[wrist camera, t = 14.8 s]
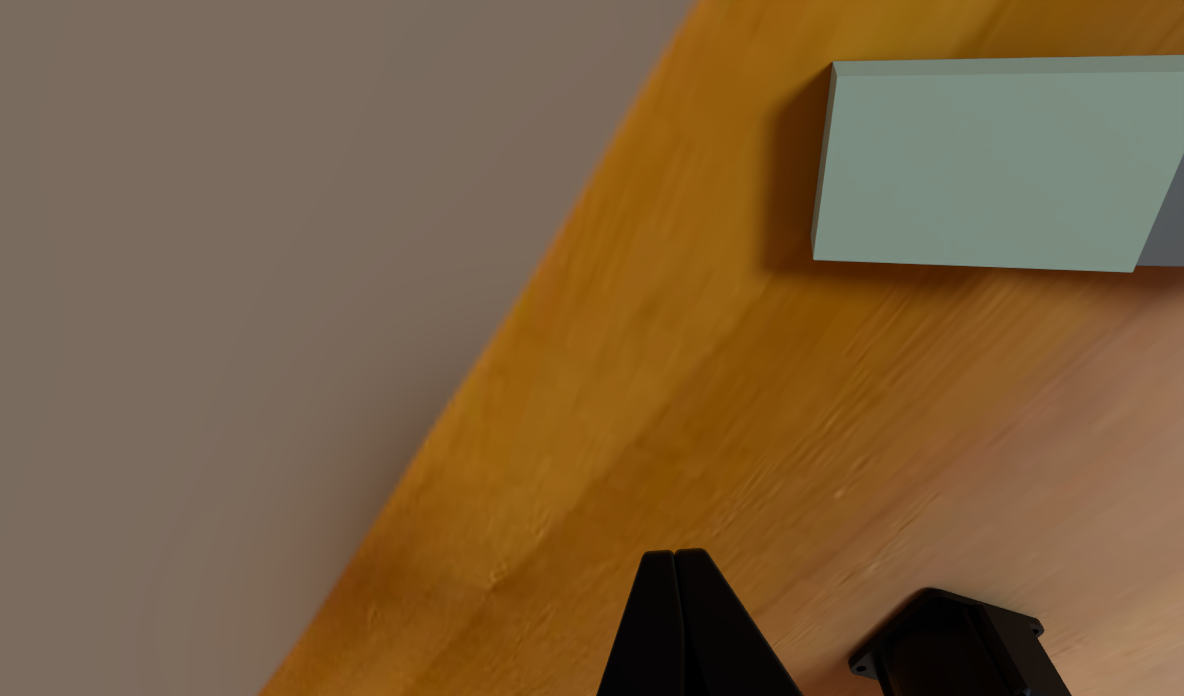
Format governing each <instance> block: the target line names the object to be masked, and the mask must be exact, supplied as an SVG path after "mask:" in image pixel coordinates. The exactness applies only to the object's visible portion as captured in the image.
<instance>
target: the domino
mask: <svg viewBox="0 0 1184 696" xmlns="http://www.w3.org/2000/svg"><path fill="white" fill-rule="evenodd" d="M1136 266H1184V154H1183V156H1182V159H1181V161H1180V163H1179V166H1178V168H1177V170H1176V173H1175V175H1174V177H1173V180H1172V182H1171V184H1170V187H1169V189H1168V191H1167V194H1166V196H1165V198H1164V201H1163V203H1162V205H1161V208H1160V210H1159V212H1158V215H1157V217H1156V219H1155V222H1154V224H1153V226H1152V229H1151V231H1150V233H1149V235H1148V238H1147V240H1146V242H1145V245H1144V247H1143V249H1142V252H1141V254H1140V256H1139V259H1138V261H1137V263H1136Z"/></svg>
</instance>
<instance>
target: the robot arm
mask: <svg viewBox="0 0 1184 696" xmlns="http://www.w3.org/2000/svg"><path fill="white" fill-rule="evenodd" d="M1043 633H1044V628H1043V626H1042V625H1041V623H1040V621H1039V620H1038V619H1036V618H1033V617H1029V616H1026V615H1023V614H1020V613H1016V612H1013V611H1010V610H1007V609H1003V608H1000V607H997V606H993V605H990V604H987V603H984V602H980V601H977V600H974V599H970V598H967V597H964V596H961V595H957V594H954V593H951V592H948V591H944V590H941V589H930V590H928V591H926V592H924V593H923V594H922V595H921V596H920V597H918V598H917V599H916V600H915V601H914V602H913V603H912V604H911V605H910V606H908V607H907V608H906V609H905V610H904V611H903V612H902V613H901V614H899V615H898V616H897V617H896V618H895V619H894V620H893V621H892V622H891V623H889V624H888V625H887V626H886V627H885V628H884V629H883V630H882V631H880V632H879V633H878V634H877V635H876V636H875V637H874V638H873V639H871V640H870V641H869V642H868V643H867V644H866V645H865V646H864V647H863V648H861V649H860V650H859V651H858V652H857V653H856V654H855V655H854V656H852V657H851V658H850V659H849V661H848V664H849V667H850V670H851V672H852V673H853V674H856V675H860V676H864V677H868V678H871V679H875V680H879V683H880V686H881V688H882V691H883V694H884V696H1072V695H1071V694H1070V692H1069V690H1068V689H1067V687H1066V685H1065V684H1064V682H1063V680H1062V679H1061V677H1060V675H1059V674H1058V672H1057V670H1056V669H1055V667H1054V665H1053V664H1052V662H1051V660H1050V659H1049V657H1048V655H1047V654H1046V652H1045V650H1044V649H1043V647H1042V645H1041V643H1040V642H1039V640H1038V637H1039V636H1040V635H1042V634H1043ZM596 696H803V694H802V693H801V691H800V690H799V688H798V687H797V685H796V684H795V682H794V681H793V679H792V678H791V676H790V675H789V673H788V672H787V670H786V669H785V667H784V666H783V664H782V663H781V661H780V660H779V658H778V657H777V655H776V654H775V653H774V651H773V650H772V648H771V647H770V645H769V644H768V642H767V641H766V639H765V638H764V636H763V635H762V633H761V632H760V630H759V629H758V627H757V626H756V624H755V623H754V621H753V620H752V618H751V617H750V615H749V614H748V612H747V611H746V609H745V608H744V606H743V605H742V603H741V602H740V600H739V599H738V597H737V596H736V594H735V593H734V591H733V590H732V588H731V587H730V585H729V584H728V582H727V581H726V579H725V578H724V576H723V575H722V573H721V572H720V570H719V569H718V567H717V566H716V564H715V563H714V561H713V560H712V558H711V557H710V555H709V554H708V553H707V552H706V551H705V550H704V549H702V548H692V549H679V550H677V551H676V552H675V555H674V553H673V552H672V551H670V550H658V551H647V552H645V553H644V554H643V556H642V558H641V561H640V564H639V567H638V571H637V574H636V577H635V580H634V583H633V586H632V589H631V592H630V595H629V598H628V601H627V604H626V607H625V610H624V613H623V616H622V619H621V622H620V625H619V628H618V631H617V634H616V637H615V640H614V643H613V646H612V649H611V653H610V656H609V659H608V662H607V665H606V668H605V671H604V674H603V677H602V680H601V683H600V686H599V689H598V692H597V695H596Z"/></svg>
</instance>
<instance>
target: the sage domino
mask: <svg viewBox="0 0 1184 696" xmlns="http://www.w3.org/2000/svg"><path fill="white" fill-rule="evenodd" d="M1183 154H1184V55H1161V56H1106V57H1052V58H997V59H942V60H887V61H833V63H832V71H831V79H830V87H829V95H828V103H827V111H826V118H825V126H824V134H823V142H822V150H821V158H820V166H819V174H818V181H817V189H816V197H815V205H814V213H813V221H812V229H811V244H812V254H813V260H830V261H855V262H881V263H906V264H931V265H957V266H982V267H1007V268H1033V269H1058V270H1083V271H1108V272H1133V270H1134V268H1135V266H1136V263H1137V261H1138V259H1139V256H1140V254H1141V252H1142V249H1143V247H1144V245H1145V242H1146V240H1147V238H1148V235H1149V233H1150V231H1151V229H1152V226H1153V224H1154V222H1155V219H1156V217H1157V215H1158V212H1159V210H1160V208H1161V205H1162V203H1163V201H1164V198H1165V196H1166V194H1167V191H1168V189H1169V187H1170V184H1171V182H1172V180H1173V177H1174V175H1175V173H1176V170H1177V168H1178V166H1179V163H1180V161H1181V159H1182V156H1183Z"/></svg>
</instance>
